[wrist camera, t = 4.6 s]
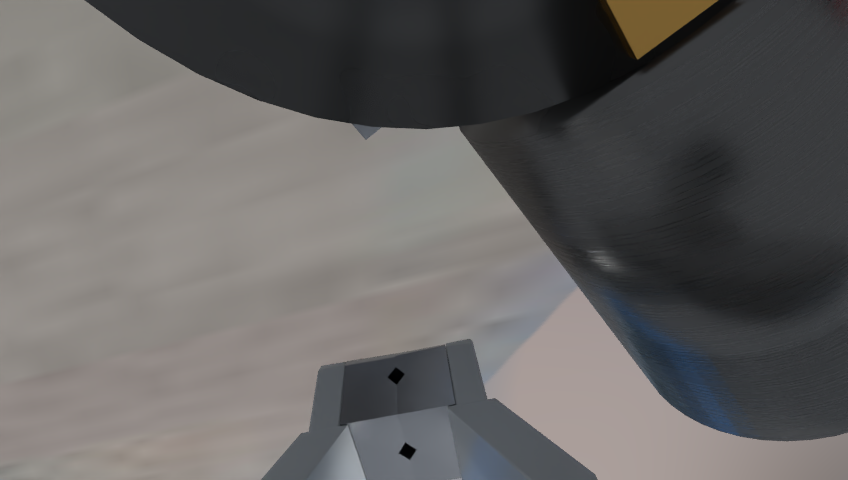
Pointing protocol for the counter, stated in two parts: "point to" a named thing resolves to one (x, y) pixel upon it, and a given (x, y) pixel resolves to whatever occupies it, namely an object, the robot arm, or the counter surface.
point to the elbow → (610, 159)
